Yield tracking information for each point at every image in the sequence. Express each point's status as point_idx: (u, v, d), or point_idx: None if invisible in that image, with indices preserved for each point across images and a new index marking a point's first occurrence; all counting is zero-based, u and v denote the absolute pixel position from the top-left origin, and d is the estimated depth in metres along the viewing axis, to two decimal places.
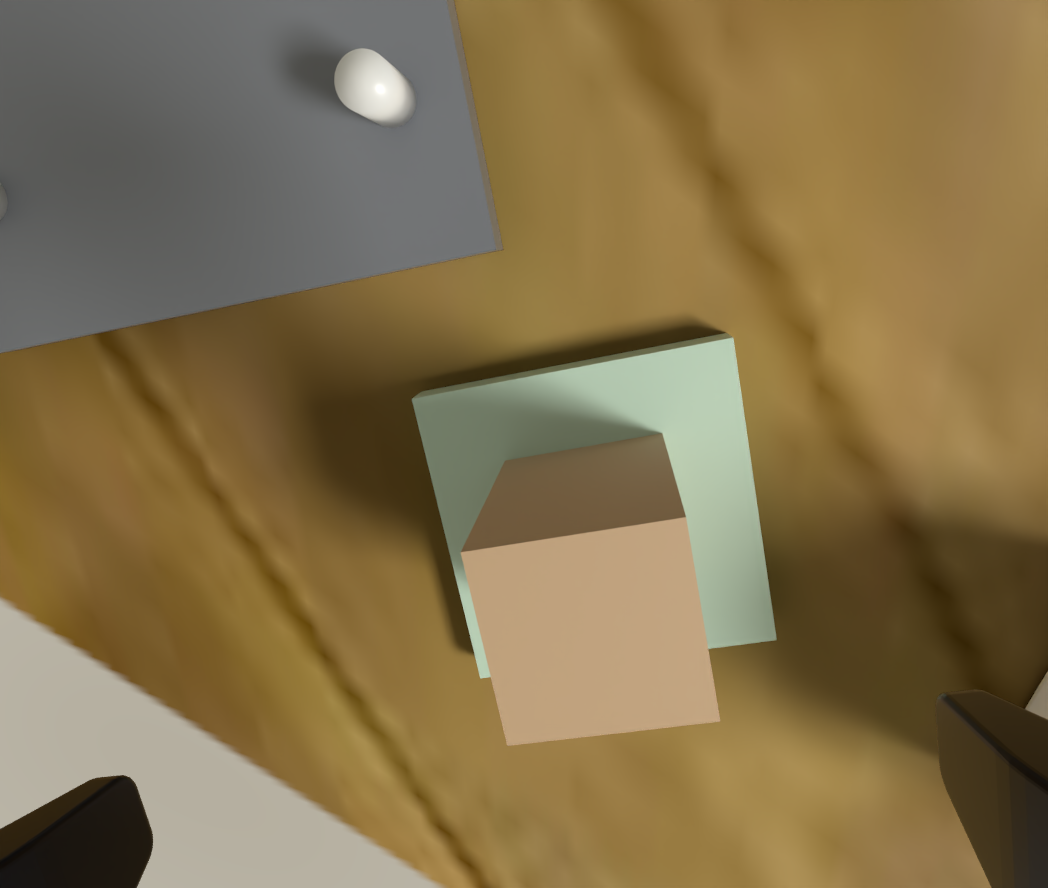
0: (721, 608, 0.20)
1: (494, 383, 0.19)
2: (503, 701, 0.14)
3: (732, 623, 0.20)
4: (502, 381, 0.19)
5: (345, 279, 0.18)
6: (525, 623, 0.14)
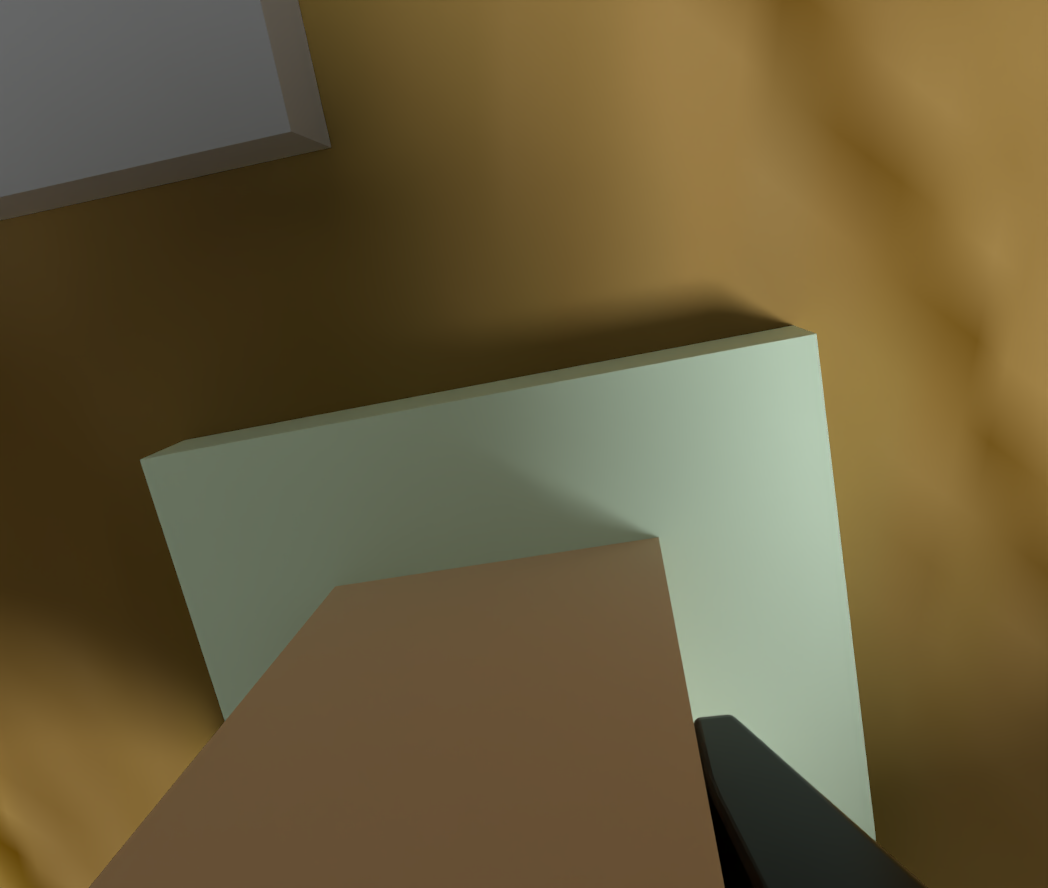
0: None
1: (304, 428, 0.09)
2: None
3: None
4: (323, 425, 0.09)
5: None
6: None
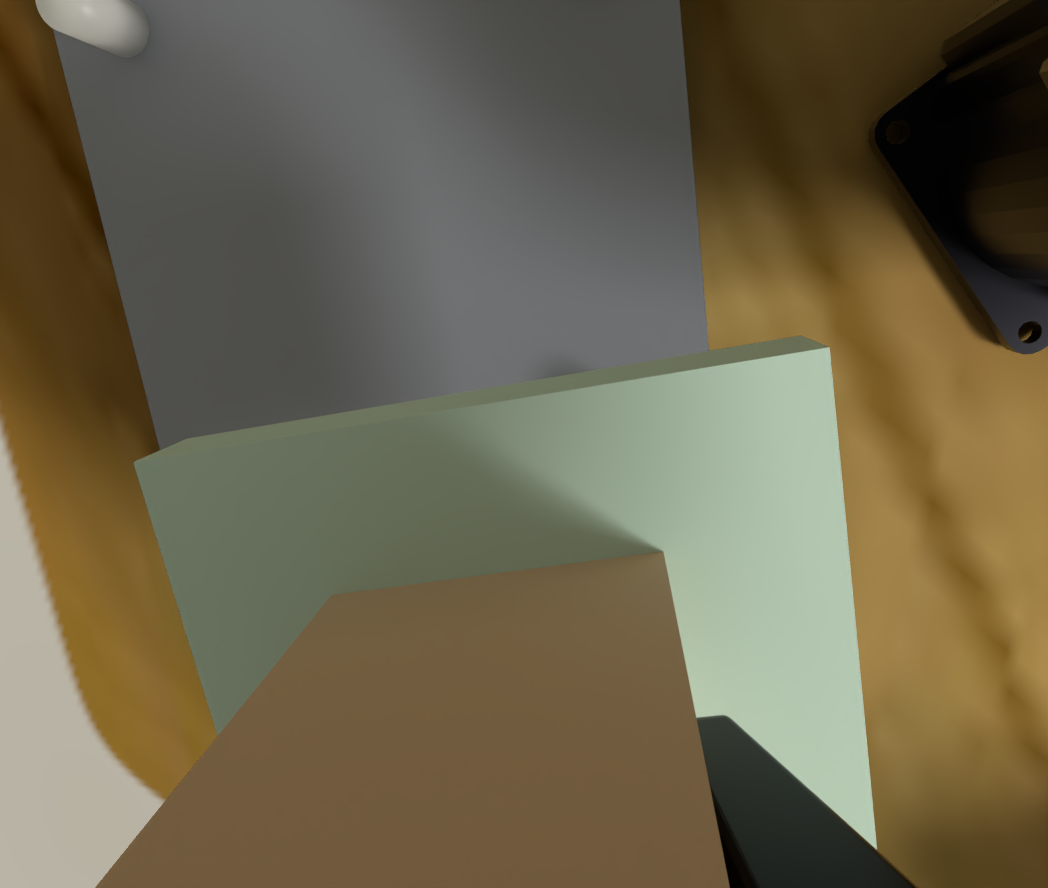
0: None
1: (302, 433, 0.09)
2: None
3: None
4: (322, 430, 0.09)
5: None
6: None
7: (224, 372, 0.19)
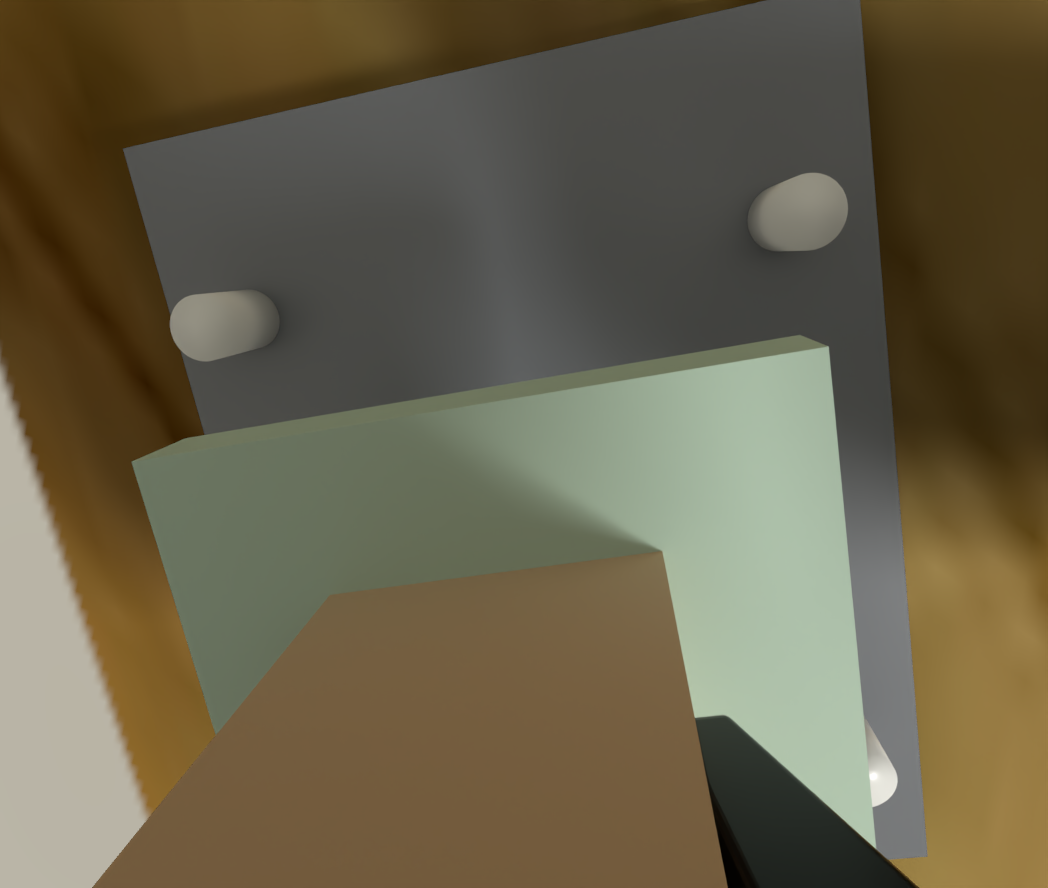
0: None
1: (301, 433, 0.09)
2: None
3: None
4: (320, 429, 0.09)
5: None
6: None
7: None
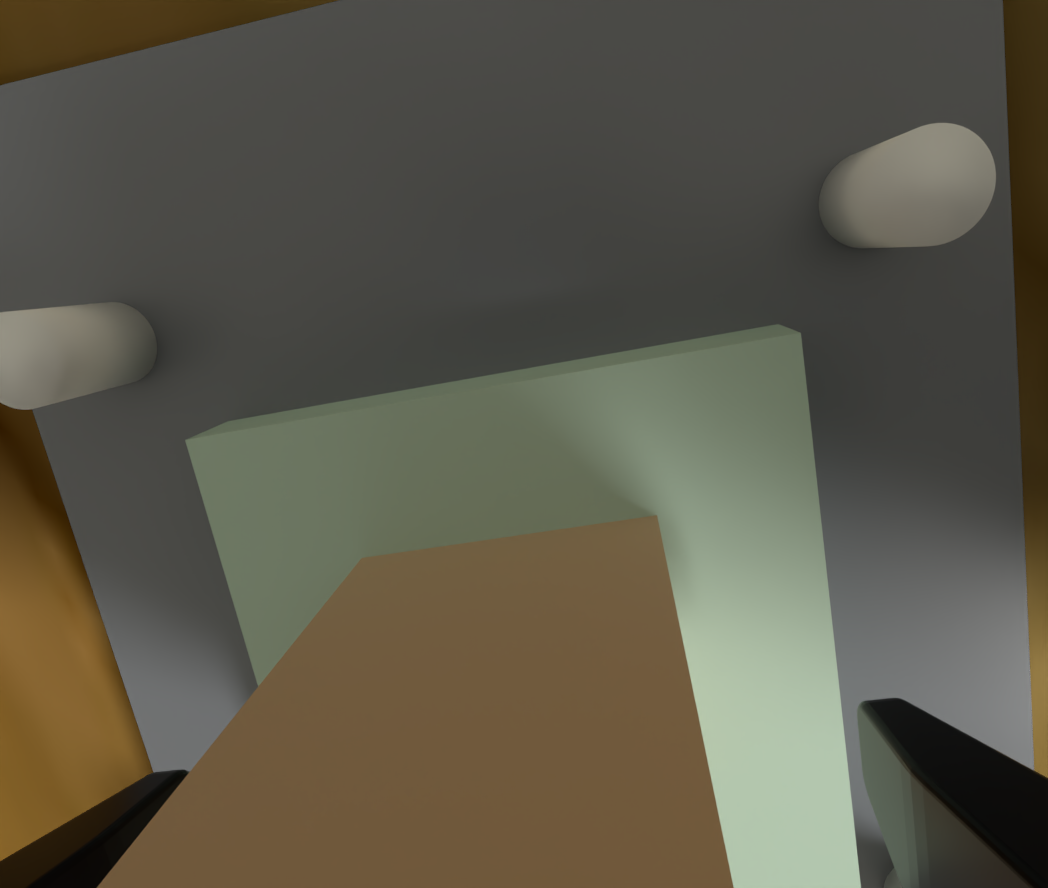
0: (761, 833, 0.11)
1: (337, 413, 0.10)
2: None
3: (781, 860, 0.11)
4: (353, 410, 0.10)
5: None
6: None
7: None
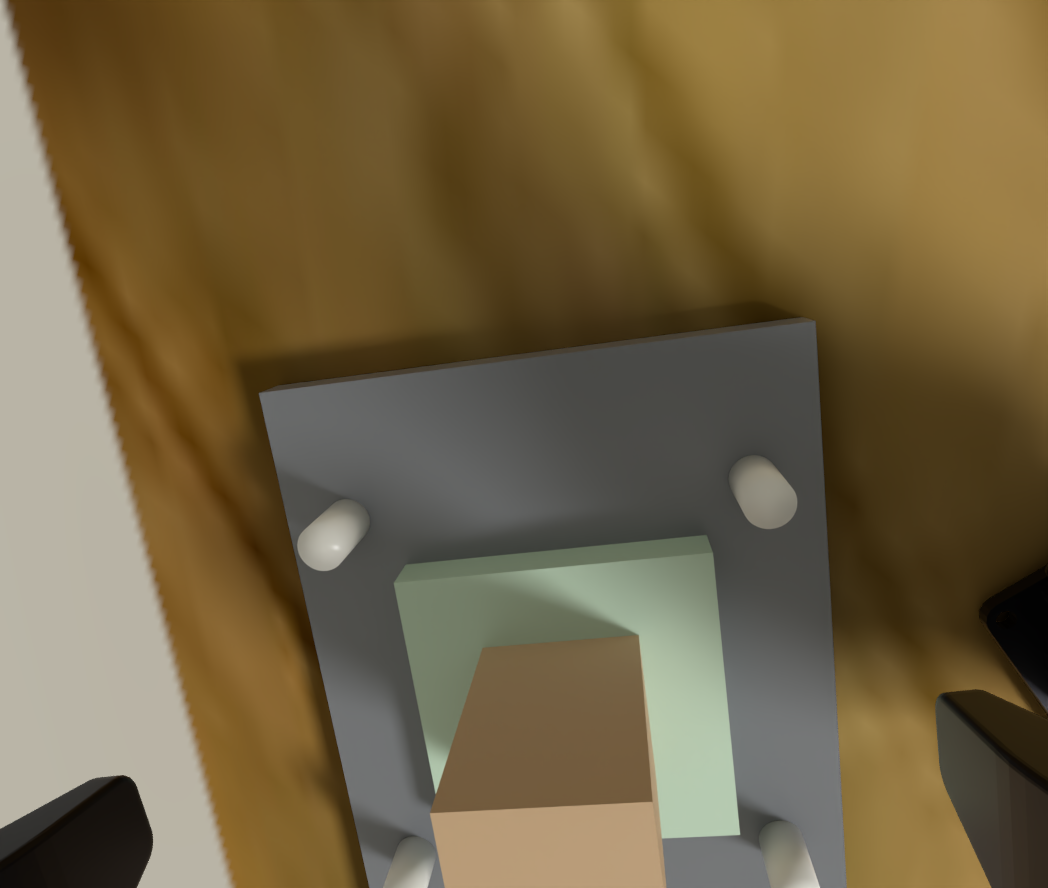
0: (687, 801, 0.20)
1: (476, 574, 0.19)
2: None
3: (698, 816, 0.20)
4: (484, 573, 0.19)
5: None
6: (489, 882, 0.14)
7: (417, 776, 0.22)
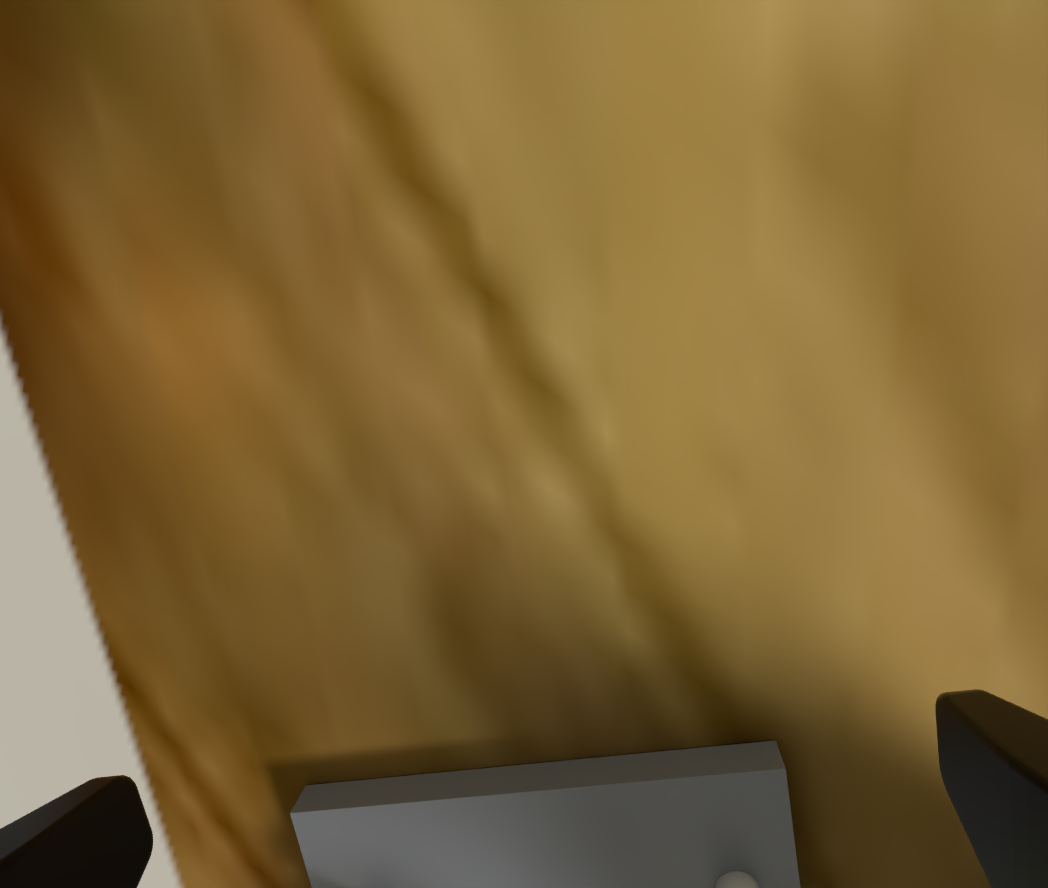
0: None
1: None
2: None
3: None
4: None
5: None
6: None
7: None
